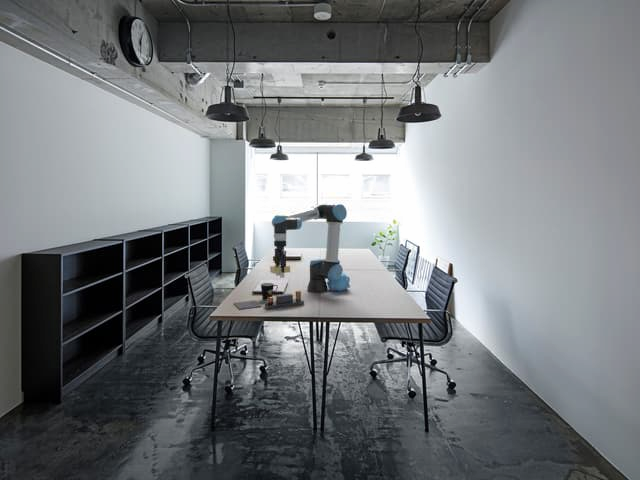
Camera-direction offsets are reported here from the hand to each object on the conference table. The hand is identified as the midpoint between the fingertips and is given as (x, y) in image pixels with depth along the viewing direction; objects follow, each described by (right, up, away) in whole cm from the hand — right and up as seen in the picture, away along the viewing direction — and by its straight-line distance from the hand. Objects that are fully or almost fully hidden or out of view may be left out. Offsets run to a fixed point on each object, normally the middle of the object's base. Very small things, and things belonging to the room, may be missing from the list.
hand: (280, 276), depth 238 cm
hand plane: (+3, -19, +2) cm, 19 cm away
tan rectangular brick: (0, +3, 0) cm, 3 cm away
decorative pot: (+39, -15, +45) cm, 62 cm away
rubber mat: (-21, -19, +3) cm, 28 cm away
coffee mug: (-9, -17, +19) cm, 27 cm away
